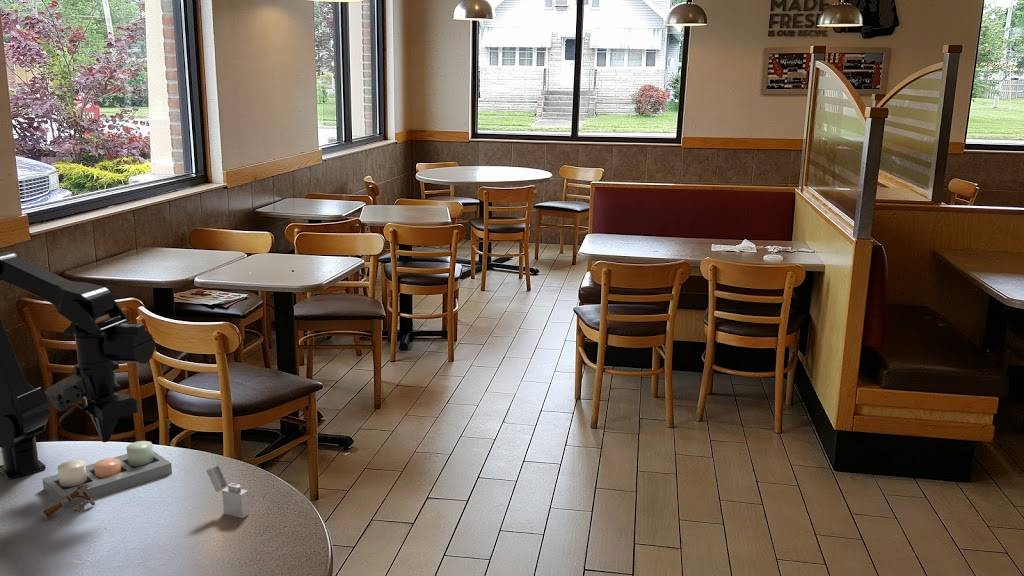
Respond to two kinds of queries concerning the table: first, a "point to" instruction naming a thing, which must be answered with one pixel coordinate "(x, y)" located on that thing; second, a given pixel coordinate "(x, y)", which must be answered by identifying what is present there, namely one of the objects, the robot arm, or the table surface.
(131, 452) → the sage button
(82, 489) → the wooden post with brackets
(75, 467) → the cream button
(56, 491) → the button panel
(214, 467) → the lighter
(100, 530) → the table surface
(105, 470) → the terracotta button
